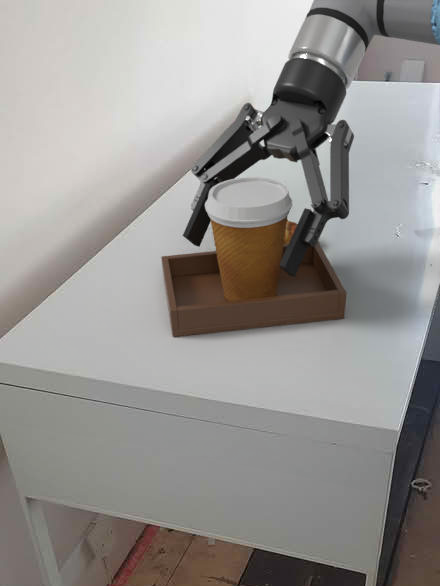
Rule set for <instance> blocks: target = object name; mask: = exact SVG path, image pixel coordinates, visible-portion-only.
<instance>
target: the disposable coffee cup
mask: <svg viewBox="0 0 440 586" xmlns="http://www.w3.org/2000/svg"><path fill="white" fill-rule="evenodd" d="M292 207H293V199H292V197H291V196H290V193H289V188H288V187H287V185H285V184H284V183H282V182H281V181H279V180H276V179H271V178H267V177H259V176H258V177H255V176H252V177H251V176H248V177H236V178H234V179H231V180H227V181H224V182H221V183H219V184H217V185H215V186H213V187H212V188H211V189H210V191H209V195H208V200H207V201H206V203H205V209H206V211H207V213H208V215H209V217H210V219H211V222H210V225H211V230H212V235H213V241H214V247H215V251H216V252H217V259H218V264H219V269H220V275H221V280H222V286H223V291H224V296H225V298H226V299H227V300H229V301H237V300H246V299H256V298H265V297H275V296H276V294H277V287H278V280H279V273H280V266H279V264H280V262H281V259H282V252H283V245H284V238H285V231H286V224H287V220H288V216H289V214H290V211H291V209H292Z"/></svg>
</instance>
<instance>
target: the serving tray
mask: <svg viewBox="0 0 440 586" xmlns="http://www.w3.org/2000/svg"><path fill="white" fill-rule="evenodd" d="M287 246H288V244H284V245H283V252H282V258H283V255H284V253H285V251H286V249H287ZM160 258H161V266H162V276H163V278H162V279H163V284H164V290H165V297H166V304H167V311H168V316H169V323H170V330H171V335H172V337H173V338H176V337H186V336H194V335H195V336H196V335H204V334H213V333H214V334H215V333H221V332H223V333H224V332H229V331H230V332H231V331H241V330H249V329H260V328H267V327H268V328H269V327H278V326H279V327H280V326H288V325H296V324H307V323H314V322H323V321H332V320H333V321H334V320H342V319H343V320H344V319H345V317H346V316H345V315H346V313H345V312H346V303H347V291H346V289H345V287H344V286H343V284H342V282H341V280H340V278H339V277H338V275H337V273H336V271H335V269H334V268H333V265H332V263H331V262H330V260H329V258H328V256H327V254H326V253H325V251H324V249H323V247H322V246H321V244H320V242H319V241H318V242H317V244H316V245H315V246H314V247H313V248H312V247H308V249H307V251H306V253H305V255H304V258H303V260H302V262H301V264H300V266H299V269H298V271H297V273H296V275H295V277H293V276H290V275H288V274H287V273H286V272H285V271H284V270H283V269H282V268H281V267H280V273H279V280H278V287H277V294H276V296H275V297H265V298H256V299H246V300H237V301H229V300H227V299H226V298H225V296H224V291H223V286H222V280H221V275H220V269H219V264H218V259H217V252H216V250H212V251H203V252H202V251H201V252H192V253H181V254H171V255H162V256H160ZM281 260H282V259H281Z"/></svg>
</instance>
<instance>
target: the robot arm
mask: <svg viewBox="0 0 440 586" xmlns="http://www.w3.org/2000/svg"><path fill="white" fill-rule="evenodd" d="M374 36H379V37H385V38H391V39H392V38H393V39H399V40H406V41H411V42H418V43H424V44H429V45H435V46H440V0H313V1H312V4H311V6H310V9H309V10H308V12H307V13H306V16H305V18H304V20H303V22H302V24H301V27H300V28H299V31H298V33H297V35H296V37H295V39H294V41H293V43H292V46H291V47H290V51H289V52H288V56H287V59H288V60H286V61H285V62H284V64H283V67H282V69H281V72H280V74H279V76H278V78H277V80H276V82H275V85H274V87H273V92H272V97H271V103H270V105H269V106H268V107H267V109H265V111H262V110H259V109H256V108H254V106H253V104H252V103H250V102H246V103H244V104H243V106H242V107H241V109H240V111H239V113H238V114H237V116H236V118H235V120H234V121H233V122H232V123H231V124H230V125H229V126H228V128H226V130H225V131H224V132H223V133H222V134H221V135H220V136H219V137H218V138H217V140H215V141H214V143H213V144H212V145H211V146H210V147H209V148H208V149H207V150H206V151H205V153H203V154H202V155H201V157H200V158H199V159H198V160H197V161H196V162H195V163H194V164H193V165H192V166H191V169H190V171H191V174H193V175H194V176H195V177H196V178H197V179H198V180H199V187H198V189H197V191H196V194H195V195H194V199H193V201H192V203H191V205H190V210H192V211H193V212H191V215H190V217H189V220H188V222H187V225H186V226H185V229H184V231H183V233H182V237H184V238H185V239H186V240H187V241H188V242H190V243H191V244H192V245H193V246H195V247H198V248H200V246H201V244H202V243H203V239H204V237H205V235H206V233H207V231H208V229H209V226H210V225H211V219H210V217H209V215H208V213H207V211H206V209H205V203H206V201H207V200H208V195H209V191H210V189H211V188H212V187H213V186H215V185H217V184H219V183H221V182H224V181H227V180H231V179H237V178H238V176H240V175H242V174H243V173H245V172H246V171H247V170H248V169H250V168H251V167H252V166H255V164H257V163H258V162H259V161H265V160H267V159H269V158H270V157H273V158H275V159H279V160H280V159H286V160H288V161H290V162H292V163H298V161H300V162H301V166H302V171H303V173H304V178H305V183H306V186H307V189H308V193H309V197H310V201H311V203H310V206H311V208H312V209H313V210H312V209H309V208H306V207H305V208H304V209H303V211H302V214H301V215H300V218H299V220H298V223H297V227H296V229H295V231H294V233H293V235H292V238H291V240H290V242H289V244H288V246H287V249H286V251H285V253H284V255H283V258H282V260H281V262H280V264H279V266H280V267H281V268H282V269H283V270H284V271H285V272H286V273H287V274H288V275H290V276H293V277H295V275H296V273H297V271H298V269H299V266H300V264H301V262H302V260H303V258H304V255H305V253H306V251H307V249H308V247H312V248H313V247H314V246H315V245H316V244H317V242H319V239H320V238H321V235H322V233H323V231H324V229H325V227H326V224H327V223H328V221H330V220H332V219H336V218H337V219H338V218H339V219H340V220H345V219H347V218H348V217H349V215H350V151H351V148H352V145H353V142H354V139H355V134H354V132H353V131H352V129H351V128H350V127H351V126H350V125H349V123H348V122H347V121H346V120H345V119H340V120H339V121H338V122H337V123H336V124H335V123H334V122H335V121H336V119H337V116H338V114H339V112H340V110H341V108H342V105H343V104H344V101H345V99H346V97H347V90H348V89H349V88H350V87H351V85H352V83H353V80H354V78H355V76H356V73H357V72H358V69H359V67H360V65H361V62H362V60H363V58H364V56H365V54H366V52H367V49H368V47H369V46H370V44H371V41H372V40H373V38H374ZM333 123H334V124H333ZM327 140H328V142H329V144H330V149H329V151H330V152H329V155H330V157H329V158H330V159H329V161H330V162H329V166H330V168H329V170H330V172H329V174H330V176H329V177H330V178H329V179H330V180H329V181H330V183H329V184H330V185H329V187H330V188H329V189H330V190H329V191H330V193H329V195H330V196H329V197H330V198H329V197H328V194H327V189H326V187H325V182H324V179H323V175H322V171H321V168H320V165H321V164H320V160H319V156H318V153H317V149H318V148H319V147H320V146H321V145H323V144H324V143H325V142H326V141H327ZM261 142H263V145H262V143H261ZM329 199H330V200H329Z"/></svg>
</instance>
